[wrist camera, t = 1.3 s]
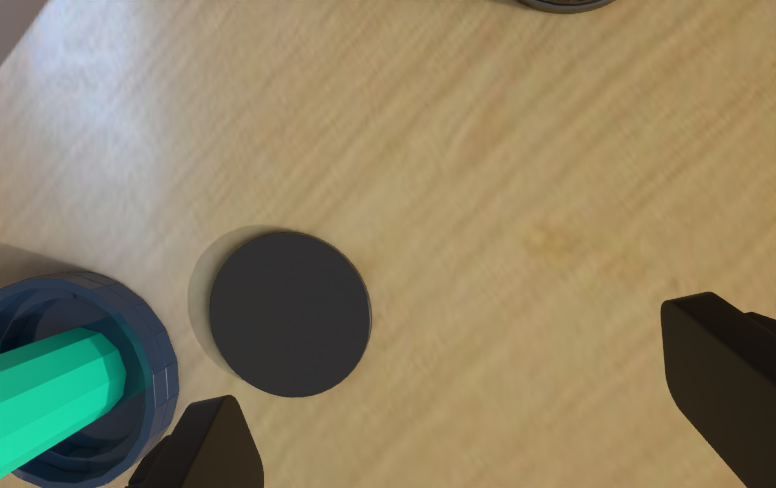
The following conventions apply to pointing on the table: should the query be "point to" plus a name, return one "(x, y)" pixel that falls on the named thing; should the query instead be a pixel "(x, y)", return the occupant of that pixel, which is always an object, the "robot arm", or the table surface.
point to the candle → (55, 392)
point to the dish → (140, 358)
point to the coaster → (290, 314)
